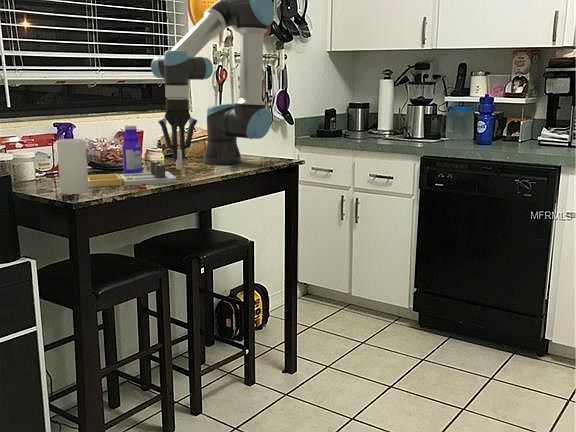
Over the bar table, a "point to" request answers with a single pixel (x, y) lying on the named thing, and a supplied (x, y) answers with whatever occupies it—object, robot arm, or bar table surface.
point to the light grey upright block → (72, 166)
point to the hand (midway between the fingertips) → (179, 168)
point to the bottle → (131, 150)
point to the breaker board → (146, 178)
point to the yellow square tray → (104, 180)
